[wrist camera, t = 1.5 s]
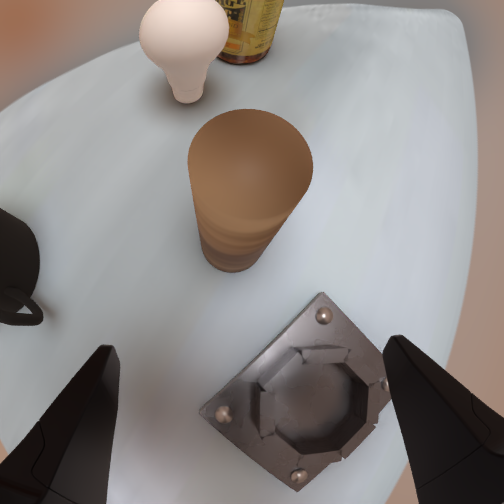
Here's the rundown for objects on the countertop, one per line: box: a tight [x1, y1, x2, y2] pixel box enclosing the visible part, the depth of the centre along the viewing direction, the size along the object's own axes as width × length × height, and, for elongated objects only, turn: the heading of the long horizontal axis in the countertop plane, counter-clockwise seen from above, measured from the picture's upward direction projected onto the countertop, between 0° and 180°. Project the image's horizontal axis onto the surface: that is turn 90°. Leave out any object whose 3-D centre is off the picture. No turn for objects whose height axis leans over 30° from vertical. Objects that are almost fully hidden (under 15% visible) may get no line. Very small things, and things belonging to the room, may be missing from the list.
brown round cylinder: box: [188, 109, 313, 273], centre depth 17 cm, size 4×4×12 cm
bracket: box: [199, 292, 391, 492], centre depth 20 cm, size 12×10×4 cm
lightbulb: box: [139, 0, 229, 103], centre depth 20 cm, size 6×6×11 cm
